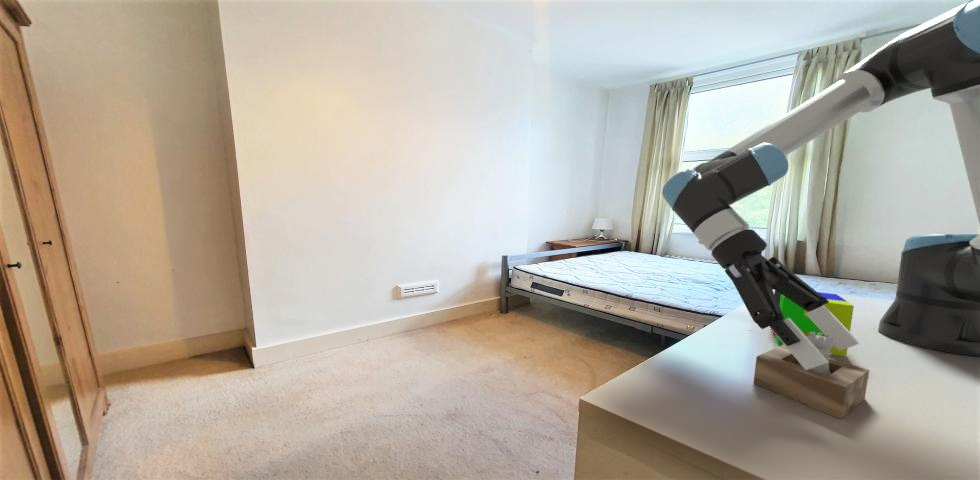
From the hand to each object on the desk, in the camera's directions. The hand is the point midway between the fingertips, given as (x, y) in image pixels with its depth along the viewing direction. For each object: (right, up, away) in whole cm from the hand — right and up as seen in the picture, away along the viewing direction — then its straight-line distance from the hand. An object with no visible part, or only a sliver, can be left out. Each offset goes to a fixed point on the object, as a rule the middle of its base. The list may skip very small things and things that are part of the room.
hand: (834, 356), depth 49 cm
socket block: (-1, -6, +3) cm, 7 cm away
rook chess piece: (-1, -6, +3) cm, 6 cm away
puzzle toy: (+16, -5, +22) cm, 28 cm away
